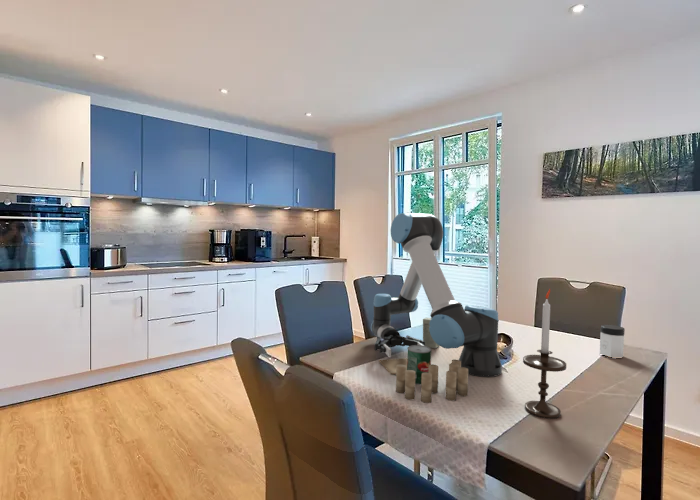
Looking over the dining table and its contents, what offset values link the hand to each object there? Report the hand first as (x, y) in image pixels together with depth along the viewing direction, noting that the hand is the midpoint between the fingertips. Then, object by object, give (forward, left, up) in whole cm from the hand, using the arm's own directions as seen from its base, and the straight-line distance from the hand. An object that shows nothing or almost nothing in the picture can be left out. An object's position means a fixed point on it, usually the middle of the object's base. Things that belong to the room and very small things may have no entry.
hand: (407, 352), depth 139 cm
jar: (-87, -23, -7) cm, 90 cm away
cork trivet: (+1, -4, -7) cm, 8 cm away
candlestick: (-35, +30, -7) cm, 46 cm away
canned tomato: (-3, +9, -7) cm, 12 cm away
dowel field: (-5, +19, -7) cm, 21 cm away
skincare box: (-14, -30, -7) cm, 33 cm away
